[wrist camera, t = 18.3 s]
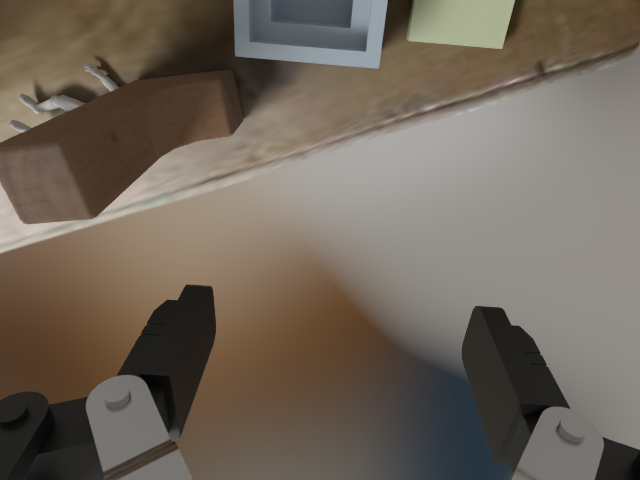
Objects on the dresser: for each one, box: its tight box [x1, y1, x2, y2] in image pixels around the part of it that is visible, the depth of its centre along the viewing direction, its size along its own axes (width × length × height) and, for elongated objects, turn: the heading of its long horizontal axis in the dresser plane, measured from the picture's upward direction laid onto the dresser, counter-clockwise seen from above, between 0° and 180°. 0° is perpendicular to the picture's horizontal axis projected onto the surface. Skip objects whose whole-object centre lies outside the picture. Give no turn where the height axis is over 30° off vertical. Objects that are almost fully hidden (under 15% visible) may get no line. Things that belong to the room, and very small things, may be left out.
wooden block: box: [0, 69, 243, 224], centre depth 30 cm, size 9×4×18 cm, turn 97°
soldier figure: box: [10, 63, 119, 132], centre depth 37 cm, size 8×5×12 cm
